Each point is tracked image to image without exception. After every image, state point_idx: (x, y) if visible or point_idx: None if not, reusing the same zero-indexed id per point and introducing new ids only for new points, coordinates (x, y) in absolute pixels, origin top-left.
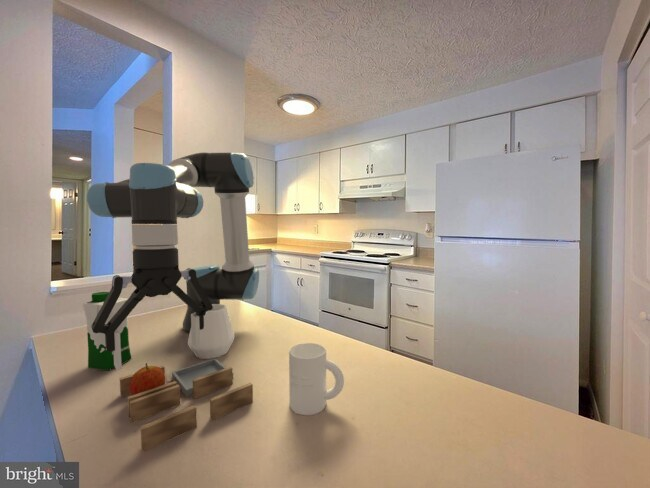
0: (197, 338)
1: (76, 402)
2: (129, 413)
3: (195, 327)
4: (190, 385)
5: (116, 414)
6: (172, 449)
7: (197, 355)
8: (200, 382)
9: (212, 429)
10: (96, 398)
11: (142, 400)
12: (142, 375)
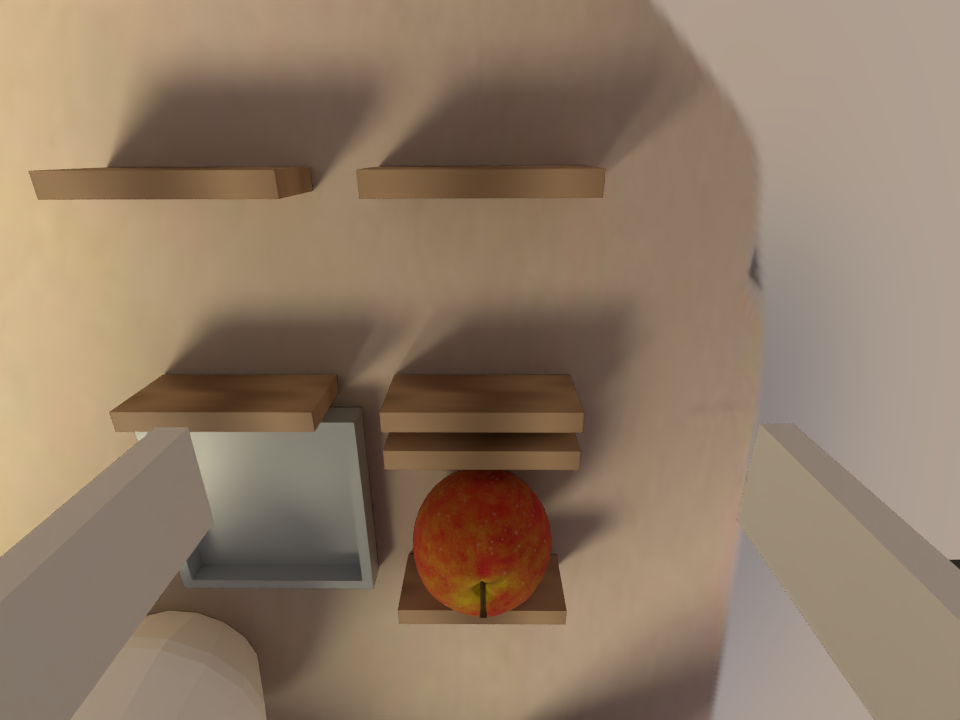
0: (119, 480)
1: (670, 606)
2: None
3: (31, 583)
4: (329, 469)
5: (594, 461)
6: (494, 94)
7: (252, 657)
8: (286, 404)
9: (325, 101)
10: (619, 593)
11: (537, 410)
12: (511, 552)
